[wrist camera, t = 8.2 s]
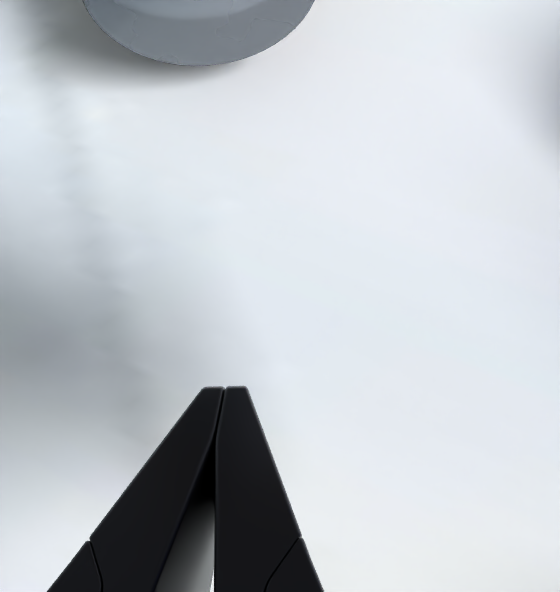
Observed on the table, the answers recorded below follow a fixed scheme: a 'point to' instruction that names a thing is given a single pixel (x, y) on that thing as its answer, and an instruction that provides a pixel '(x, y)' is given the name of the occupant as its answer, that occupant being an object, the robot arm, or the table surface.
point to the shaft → (197, 27)
